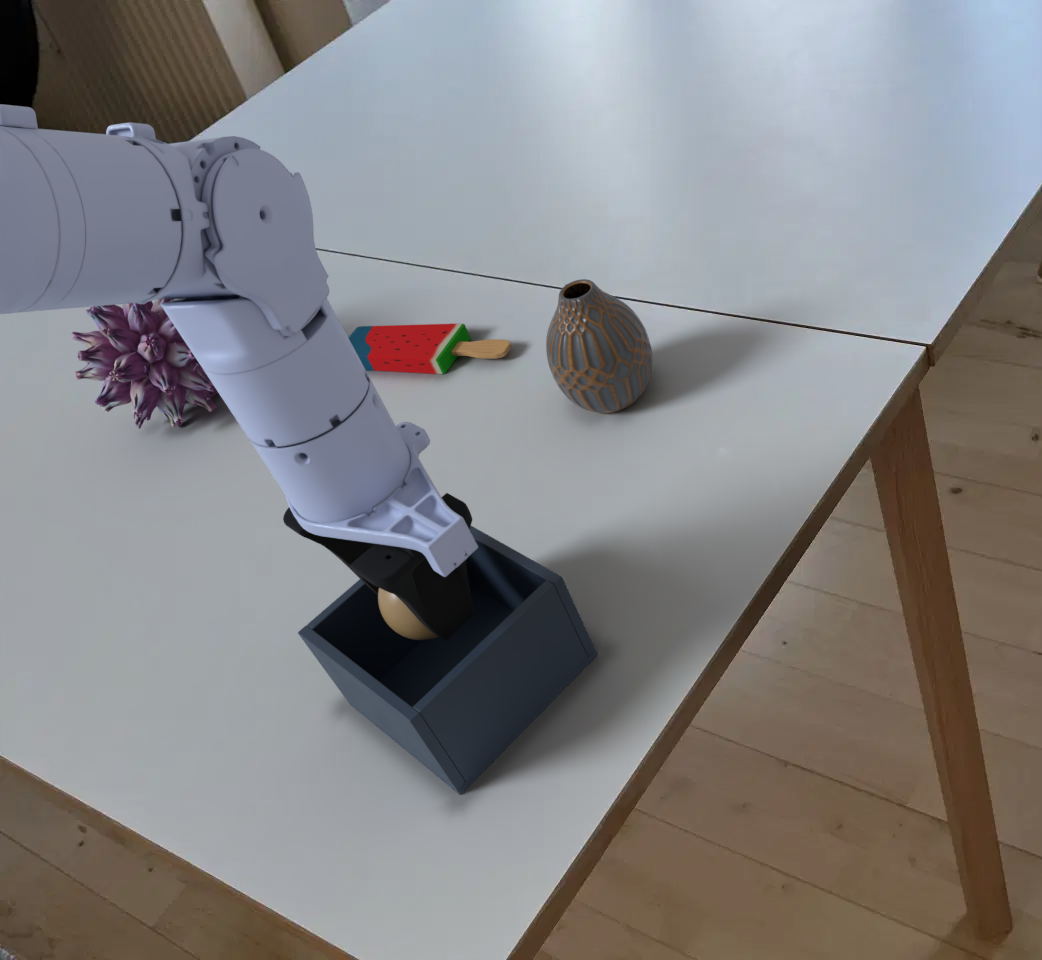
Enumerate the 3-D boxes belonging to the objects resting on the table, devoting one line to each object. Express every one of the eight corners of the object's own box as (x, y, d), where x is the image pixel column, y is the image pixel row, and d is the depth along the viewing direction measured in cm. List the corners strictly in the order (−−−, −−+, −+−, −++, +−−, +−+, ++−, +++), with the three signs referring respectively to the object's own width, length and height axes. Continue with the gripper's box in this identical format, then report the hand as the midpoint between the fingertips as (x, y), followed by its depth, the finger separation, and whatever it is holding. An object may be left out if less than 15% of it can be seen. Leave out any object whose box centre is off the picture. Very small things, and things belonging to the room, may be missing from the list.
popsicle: (491, 360, 81) (330, 357, 87) (498, 376, 82) (338, 372, 88) (517, 322, 84) (359, 323, 90) (523, 338, 84) (367, 337, 91)
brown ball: (432, 671, 55) (397, 614, 52) (383, 635, 58) (346, 580, 55) (495, 611, 57) (464, 554, 54) (444, 579, 60) (412, 523, 57)
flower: (269, 428, 88) (112, 478, 84) (237, 360, 96) (93, 402, 92) (227, 299, 80) (53, 347, 76) (196, 238, 89) (39, 278, 85)
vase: (676, 364, 77) (644, 257, 71) (641, 430, 72) (604, 322, 67) (589, 362, 80) (551, 259, 74) (550, 425, 75) (507, 321, 70)
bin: (460, 795, 55) (410, 721, 51) (349, 704, 62) (297, 632, 57) (598, 654, 59) (562, 576, 55) (481, 583, 66) (441, 508, 62)
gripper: (478, 394, 45) (577, 609, 54) (295, 315, 54) (405, 509, 63) (343, 504, 42) (471, 712, 51) (174, 400, 51) (308, 592, 60)
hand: (428, 606), depth 56 cm, fingers closed on brown ball, 4 cm apart
